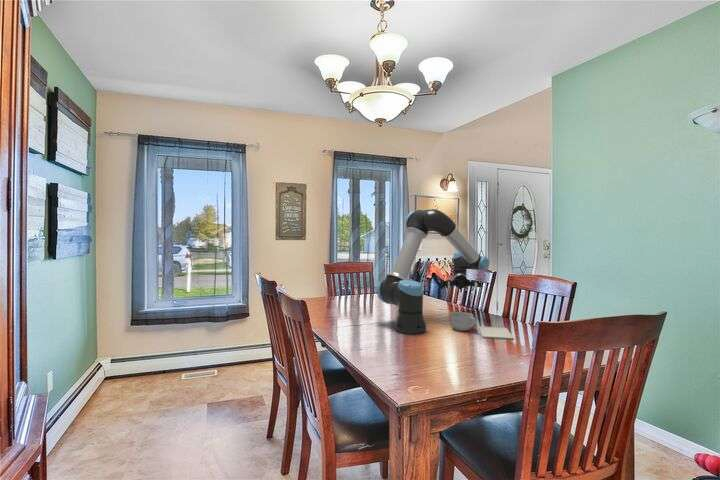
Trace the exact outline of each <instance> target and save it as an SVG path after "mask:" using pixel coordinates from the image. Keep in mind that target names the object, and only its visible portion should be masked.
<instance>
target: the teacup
mask: <svg viewBox="0 0 720 480" xmlns="http://www.w3.org/2000/svg"><path fill="white" fill-rule="evenodd" d="M449 315H450V317H449V318H450V320H449V321H450V326H451V328H453V329H454V330H456V331H460V332H463V331H464V332H465V331H469V330H471V328H473V326H475V325H476V322H477V320H476V318H475V317H474V314H473V313H471V312H466V311H465V312H464V311H452V312H450V314H449Z"/></svg>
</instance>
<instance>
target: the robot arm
mask: <svg viewBox="0 0 720 480" xmlns="http://www.w3.org/2000/svg"><path fill="white" fill-rule="evenodd" d="M404 222H405V227H406V229H405V230H406V236H405V238H404V241H403V244H402V246H401V247H400V249H399V250H400V251H399V252H398V254H397V258H396V260H395V262H394V265H393V267H392V269H391V272H390V273H387V275H386V276H385V278H384V279H383V280H381V281H379V282H378V284H377V287H376V294H377V298H378V299H379V300H380V301H381V302H382V303H385V304H387V305H394V306H397V307H398V308H397V310H398V312H397V313H398V315H397V317H396V320H395V322H394V323H395V324H394V331H396V332H397V333H401V334H404V335H405V334H408V335H417V334H418V335H419V334H423V333H426V332H427V324H426V321H425V317H424V311H423V309H424V308H423V307H424V289H423V285H422V284H421V282H419V281H415V280H410V279H408V276H409V274H410V271H411V269H412V266H413V264H414V261H415V259H416V256H417V253H418V251H419V249H420V246H421V243H422V241H423V240H424V239H426V238H427V236H428V234H429V232H434V233H437V234H439V236H441V237H444V238H445V239H446V241H448V242H449V243H450V244H451V245H452V246H453V248H454V249H455V250H456V252H454V253H453V256H452V257H453V259H452V261H453V263H452V264H453V266H452V267H453V268H452V269H453V271H452V275H453V276H452V279H448V280H444V281H442V282H441V284H442V287H445V289H450V288H451V287H456V288H458V289H465V288H467V287H473V288H474V289H475V290H478V288H482V287H483V283H482V282H481V281H479V280H474V279H471V281H470V279H468V277H467V270H475V271H487V270H488V269H489V267H490V260H489V258H488V257H486V256H482V255H480V254H479V252H478V251H477V250H476V249H475V247H473V246H472V244H471V243H470V242H469V241H468V240H467V239H466V237H465V236H464V235H463V234H462V233H461V232H460V230H459V229H458V228H457V225H456V222H454V220H453V219H452V218H451V217H449V216H448V215H447V214H446V213H445V212H443V211H442V210H439V209H434V208H432V209H423V210H422V209H417V210H413V211H410V212H409V213H408V214H407V216H406V218H405V221H404Z"/></svg>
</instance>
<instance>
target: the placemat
mask: <svg viewBox="0 0 720 480" xmlns="http://www.w3.org/2000/svg"><path fill="white" fill-rule="evenodd" d="M478 329H479V332H480V333H479V334H480V336H481V337H482V339H492V338H496V339H495V340H511V341H514V340H515V338H514V337H513V335H512V334H511V332H510V331H509V329H508V327H504V326H502V327H500V326H483V325H482V326H480V325H479V326H478Z"/></svg>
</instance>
